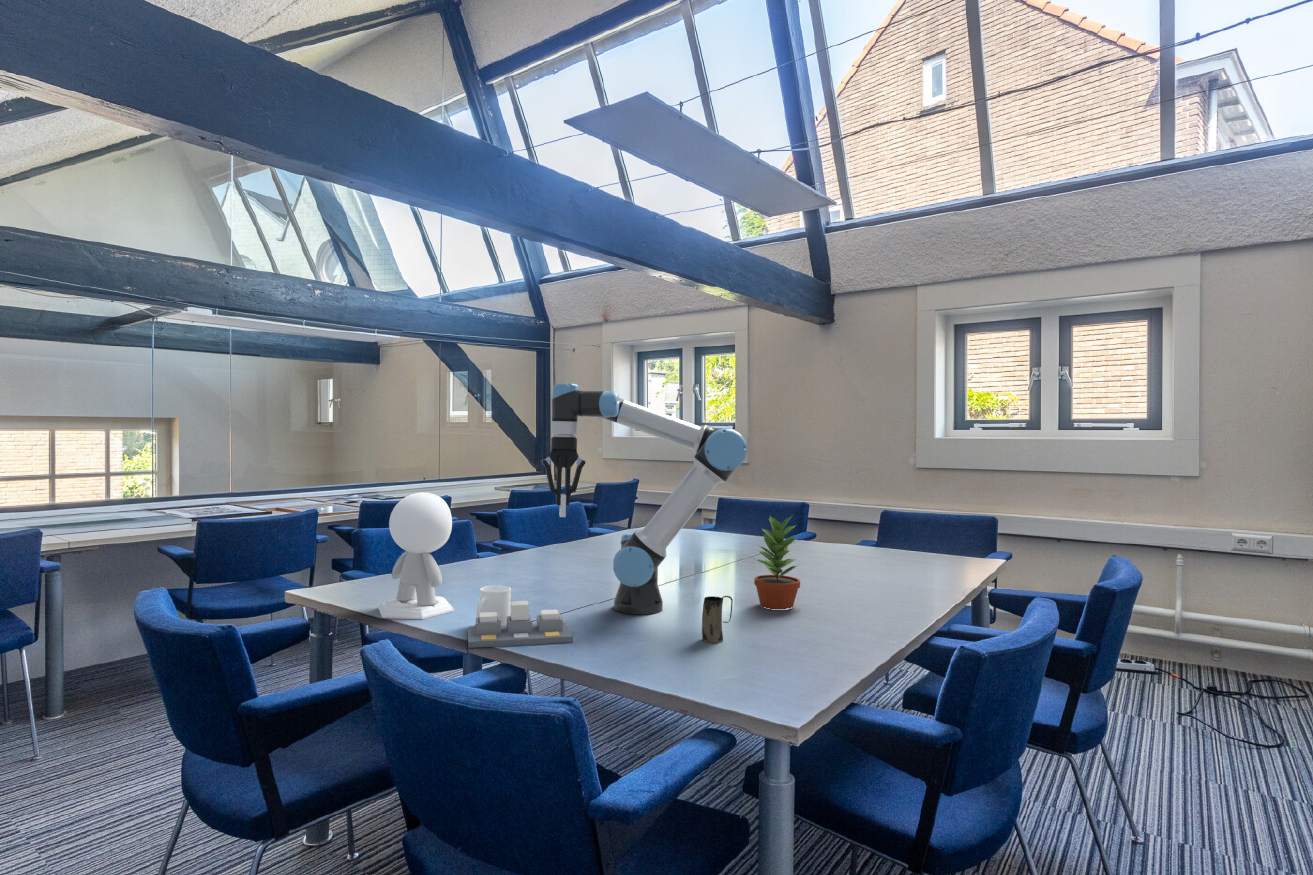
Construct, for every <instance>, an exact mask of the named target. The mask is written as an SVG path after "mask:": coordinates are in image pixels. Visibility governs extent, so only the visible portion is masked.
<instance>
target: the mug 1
mask: <svg viewBox="0 0 1313 875" xmlns="http://www.w3.org/2000/svg"><path fill="white" fill-rule="evenodd" d="M511 594H512V588H511V587H510V586H506V585H487V586H483V587H480V588H479V601H478V603H477V607H476V617H480V613H484V612H497V616H500V620H501V625H507V616H510V613H511V600H512V598H511V596H512V595H511Z"/></svg>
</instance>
